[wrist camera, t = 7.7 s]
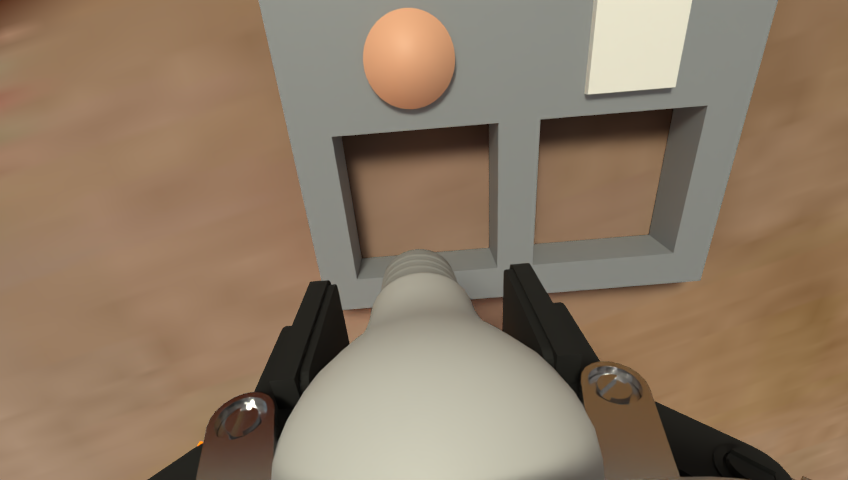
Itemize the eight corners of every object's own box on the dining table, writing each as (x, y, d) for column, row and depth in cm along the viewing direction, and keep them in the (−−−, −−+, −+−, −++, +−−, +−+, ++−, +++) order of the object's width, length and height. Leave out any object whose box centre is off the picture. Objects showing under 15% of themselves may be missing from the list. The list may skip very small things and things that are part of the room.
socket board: (744, -40, 18) (801, -55, 15) (674, 260, 25) (704, 284, 22) (275, 0, 18) (253, -9, 16) (335, 287, 25) (327, 315, 23)
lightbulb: (515, 200, 14) (839, 607, 4) (481, 338, 16) (615, 793, 6) (337, 181, 13) (138, 620, 3) (332, 329, 15) (216, 824, 6)
